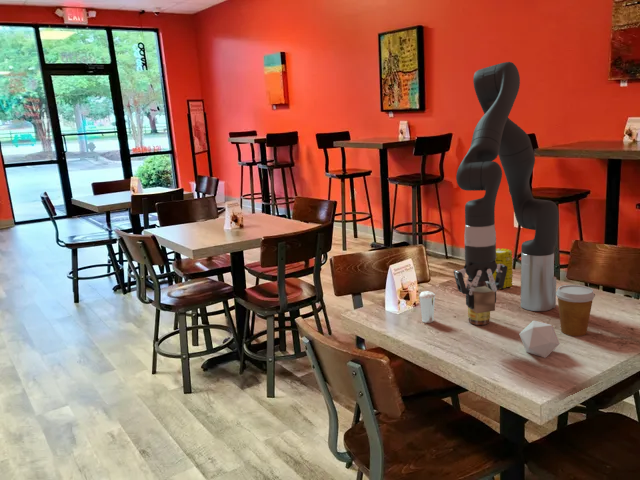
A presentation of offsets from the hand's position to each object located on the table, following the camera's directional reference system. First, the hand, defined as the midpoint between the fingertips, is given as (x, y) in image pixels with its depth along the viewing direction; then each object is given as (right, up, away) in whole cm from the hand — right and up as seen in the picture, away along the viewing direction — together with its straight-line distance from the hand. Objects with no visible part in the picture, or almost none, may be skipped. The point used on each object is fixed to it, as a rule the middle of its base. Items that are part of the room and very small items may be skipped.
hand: (481, 306), depth 142 cm
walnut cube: (0, -1, 0) cm, 1 cm away
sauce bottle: (+5, -7, +19) cm, 21 cm away
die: (+14, -12, -3) cm, 18 cm away
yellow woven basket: (+21, +1, +51) cm, 55 cm away
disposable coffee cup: (+28, -8, +8) cm, 30 cm away
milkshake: (-9, -7, +23) cm, 26 cm away
